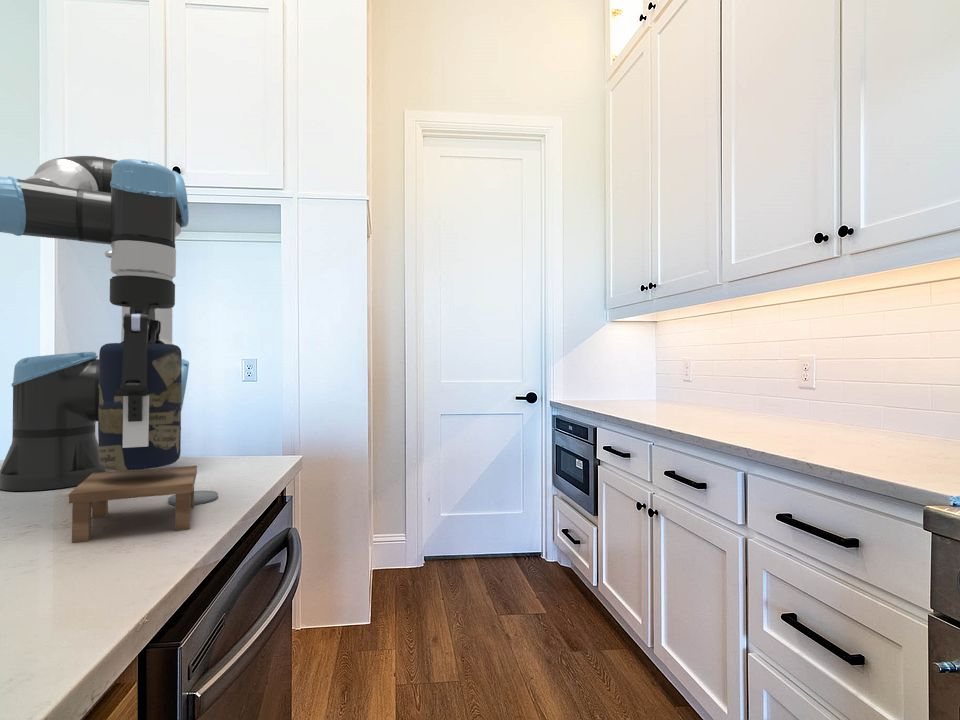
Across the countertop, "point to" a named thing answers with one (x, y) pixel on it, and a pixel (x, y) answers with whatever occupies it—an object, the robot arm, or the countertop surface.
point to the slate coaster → (198, 497)
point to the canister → (161, 409)
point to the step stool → (130, 494)
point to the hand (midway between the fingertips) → (141, 441)
